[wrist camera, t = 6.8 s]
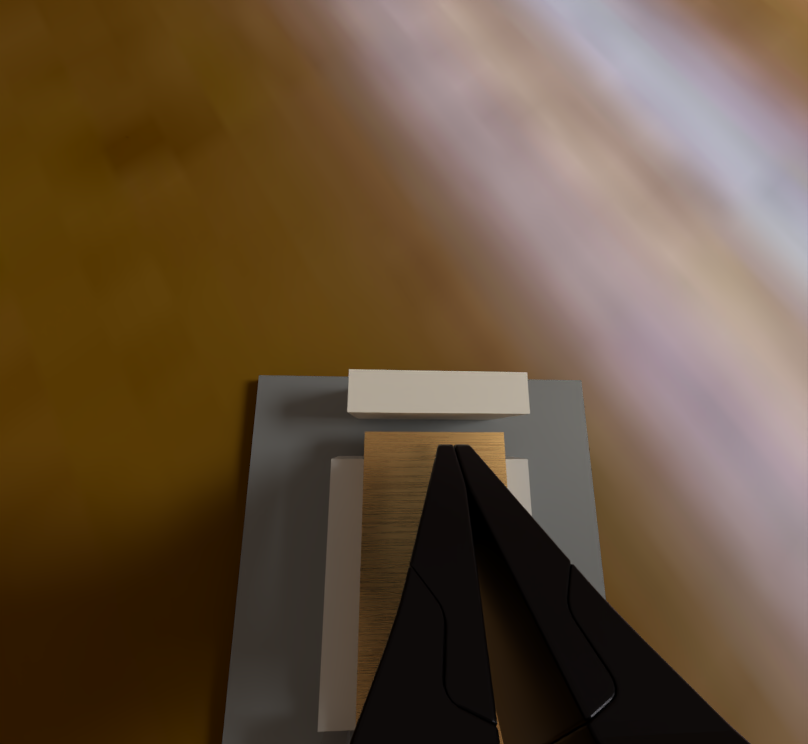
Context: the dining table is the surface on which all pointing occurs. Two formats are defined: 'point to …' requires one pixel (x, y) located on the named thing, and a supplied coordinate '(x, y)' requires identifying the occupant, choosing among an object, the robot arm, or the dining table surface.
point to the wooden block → (399, 527)
